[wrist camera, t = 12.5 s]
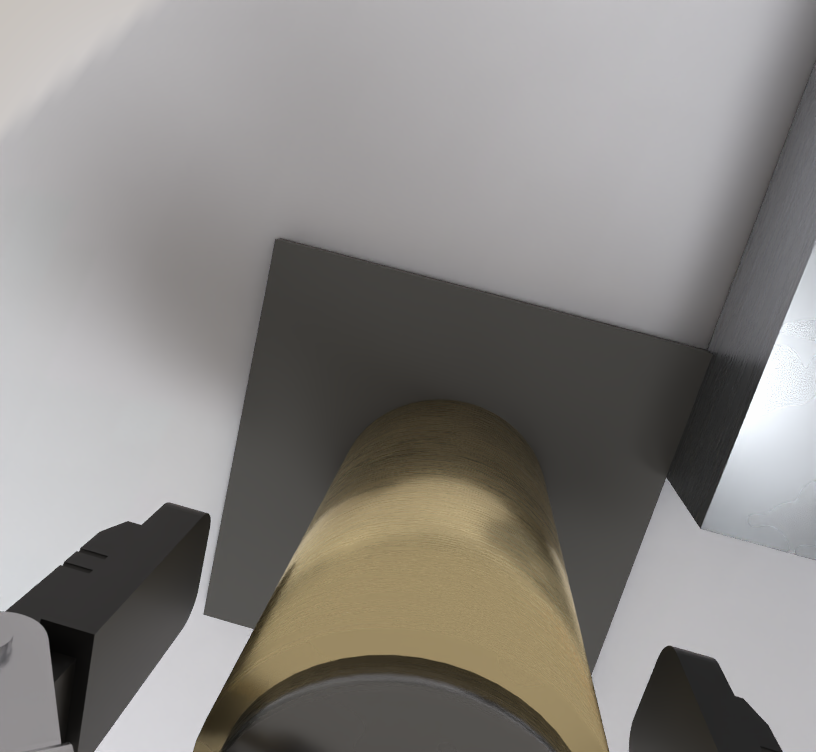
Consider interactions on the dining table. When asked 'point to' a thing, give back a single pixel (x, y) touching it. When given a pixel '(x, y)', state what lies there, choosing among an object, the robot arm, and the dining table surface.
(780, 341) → the block
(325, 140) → the dining table surface
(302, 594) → the tan cylinder
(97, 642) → the robot arm
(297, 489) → the mat
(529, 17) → the dining table surface
